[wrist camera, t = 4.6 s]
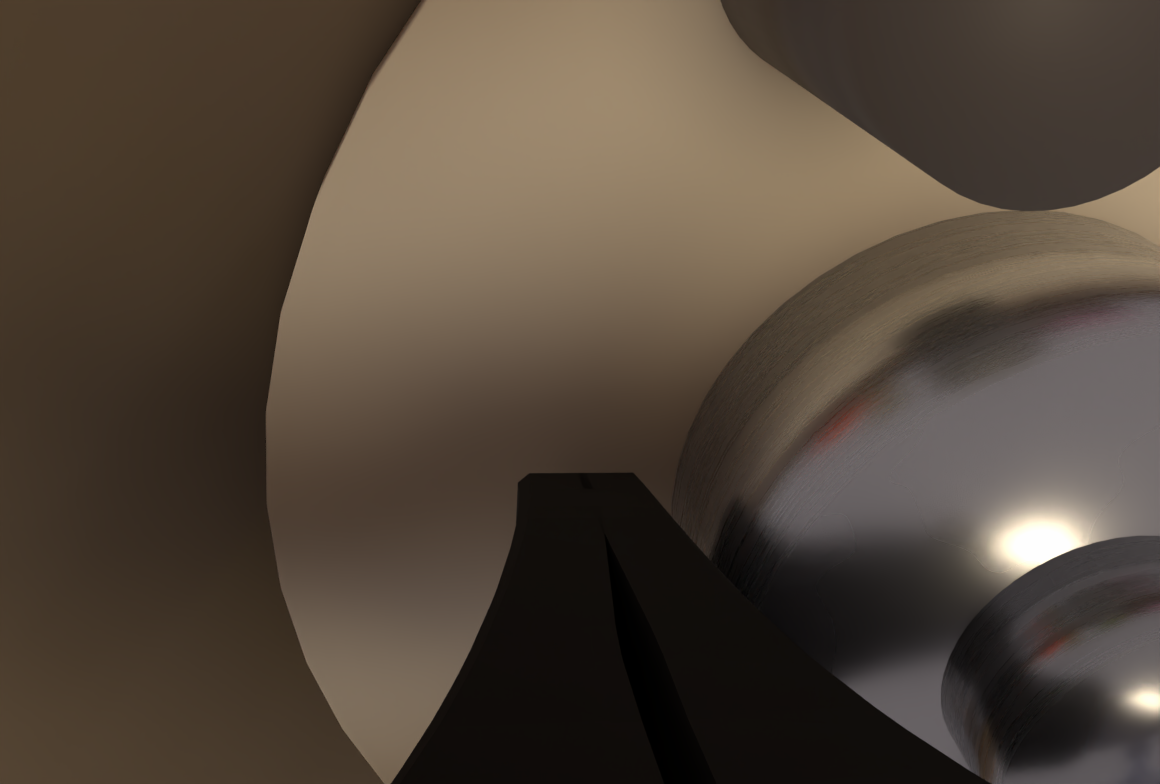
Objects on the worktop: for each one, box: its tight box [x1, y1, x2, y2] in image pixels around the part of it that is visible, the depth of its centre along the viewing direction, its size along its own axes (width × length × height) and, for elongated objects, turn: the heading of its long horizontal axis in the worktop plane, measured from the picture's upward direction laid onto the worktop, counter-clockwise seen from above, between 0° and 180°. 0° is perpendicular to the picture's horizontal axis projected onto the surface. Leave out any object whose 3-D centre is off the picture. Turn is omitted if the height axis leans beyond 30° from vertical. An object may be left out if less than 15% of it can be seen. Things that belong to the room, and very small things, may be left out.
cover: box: [671, 210, 1160, 784], centre depth 11 cm, size 7×7×4 cm
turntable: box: [266, 0, 1160, 784], centre depth 11 cm, size 18×18×5 cm
